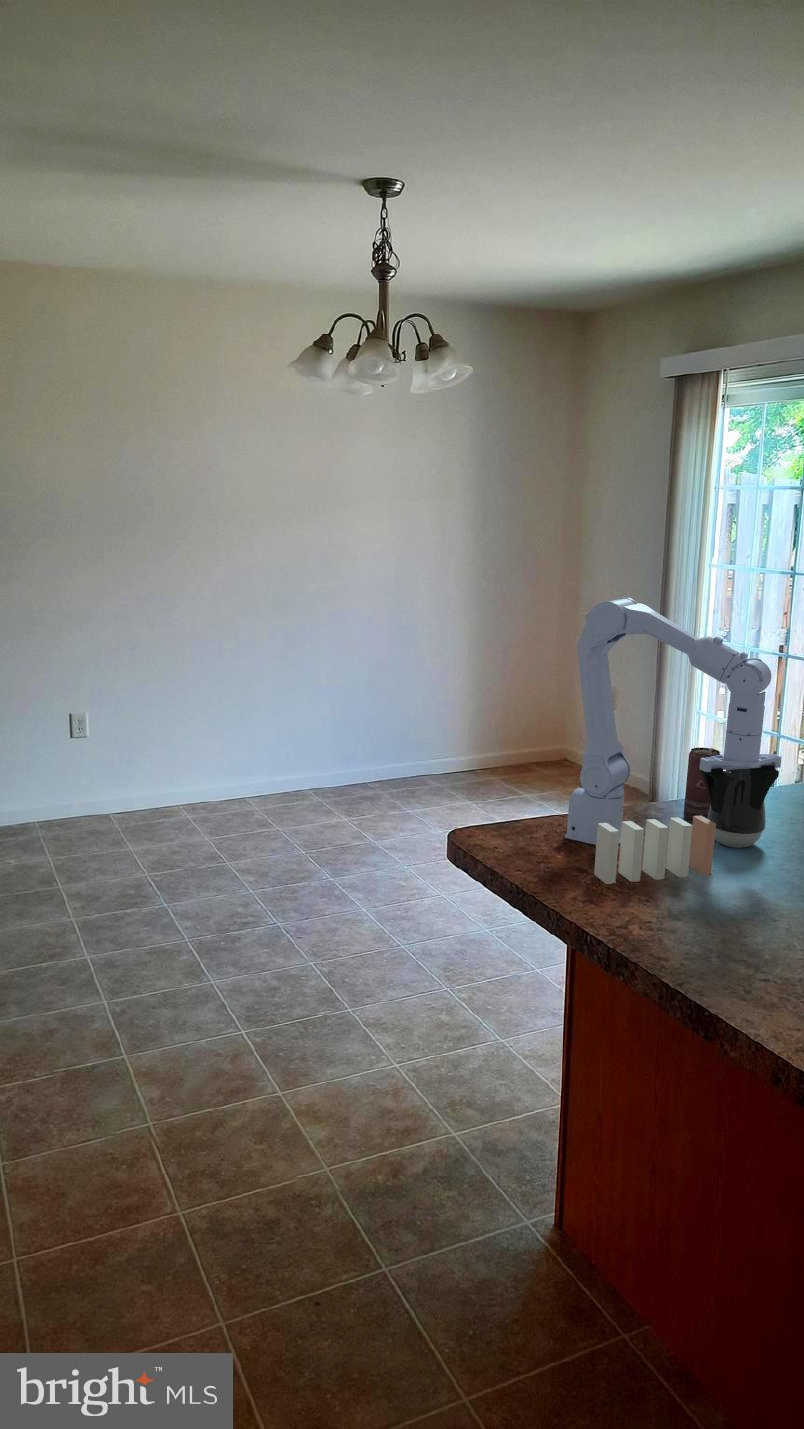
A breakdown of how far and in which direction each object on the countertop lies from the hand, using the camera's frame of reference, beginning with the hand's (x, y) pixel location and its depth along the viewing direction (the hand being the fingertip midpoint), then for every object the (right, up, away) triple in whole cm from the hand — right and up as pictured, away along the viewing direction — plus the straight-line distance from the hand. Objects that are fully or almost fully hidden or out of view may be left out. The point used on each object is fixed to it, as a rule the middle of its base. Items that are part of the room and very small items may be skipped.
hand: (735, 809), depth 178 cm
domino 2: (-19, -11, -3) cm, 22 cm away
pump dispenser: (+4, -8, +15) cm, 17 cm away
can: (+2, -5, +28) cm, 29 cm away
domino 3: (-15, -11, -2) cm, 18 cm away
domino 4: (-10, -11, -1) cm, 15 cm away
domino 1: (-23, -11, -5) cm, 26 cm away
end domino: (-6, -10, +1) cm, 12 cm away
